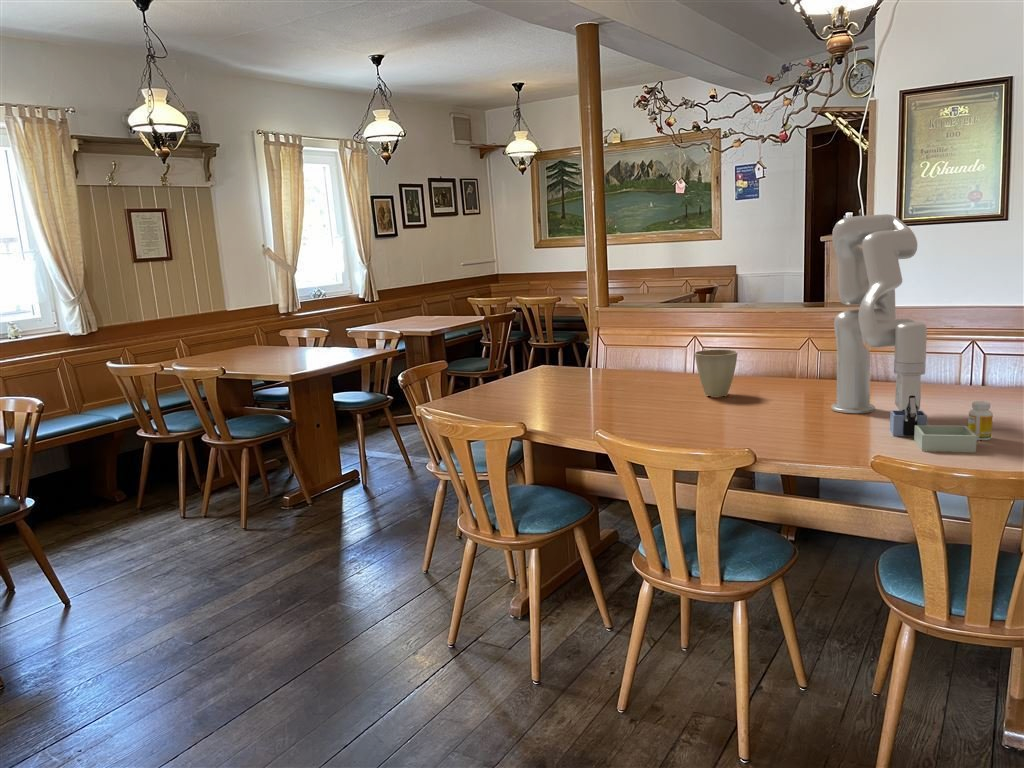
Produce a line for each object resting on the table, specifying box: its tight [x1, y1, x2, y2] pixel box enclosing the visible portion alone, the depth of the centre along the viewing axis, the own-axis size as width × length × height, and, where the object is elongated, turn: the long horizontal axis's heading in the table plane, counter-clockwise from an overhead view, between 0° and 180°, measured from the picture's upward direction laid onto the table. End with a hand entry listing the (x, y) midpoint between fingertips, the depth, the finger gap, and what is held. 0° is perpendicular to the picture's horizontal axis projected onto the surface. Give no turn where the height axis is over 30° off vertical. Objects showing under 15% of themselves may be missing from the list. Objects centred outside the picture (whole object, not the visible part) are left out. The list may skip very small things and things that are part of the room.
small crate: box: [889, 409, 928, 437], centre depth 203 cm, size 6×8×6 cm
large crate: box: [913, 424, 978, 453], centre depth 190 cm, size 10×12×4 cm
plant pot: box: [694, 349, 738, 397], centre depth 267 cm, size 15×15×16 cm
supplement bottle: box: [967, 400, 994, 441], centre depth 194 cm, size 5×5×10 cm
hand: (907, 431), depth 204 cm, fingers closed on small crate, 6 cm apart
